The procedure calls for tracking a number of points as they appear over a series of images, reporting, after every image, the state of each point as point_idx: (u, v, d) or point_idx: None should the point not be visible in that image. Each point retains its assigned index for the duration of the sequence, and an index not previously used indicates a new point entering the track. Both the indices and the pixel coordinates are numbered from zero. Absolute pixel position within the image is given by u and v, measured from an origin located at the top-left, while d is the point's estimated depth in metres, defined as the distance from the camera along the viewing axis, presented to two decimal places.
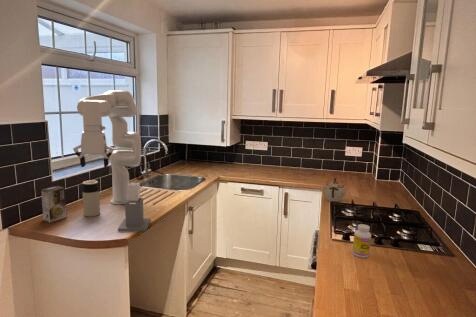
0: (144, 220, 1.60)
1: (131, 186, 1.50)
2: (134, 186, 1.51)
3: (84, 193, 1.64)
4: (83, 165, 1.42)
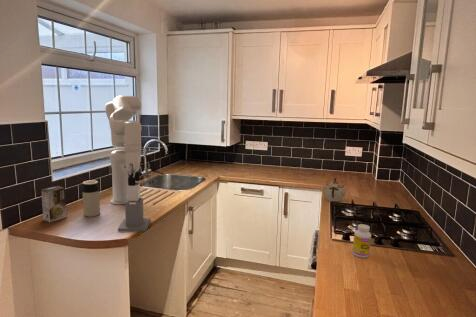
0: (144, 220, 1.60)
1: (131, 186, 1.50)
2: (134, 186, 1.51)
3: (84, 193, 1.64)
4: None
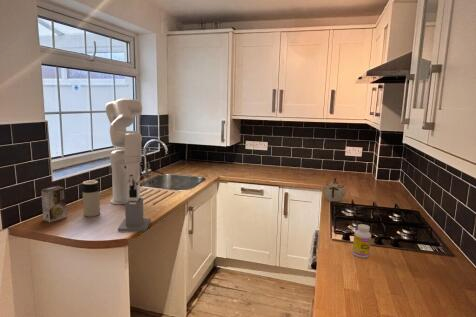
0: (144, 220, 1.60)
1: None
2: None
3: (84, 193, 1.64)
4: None
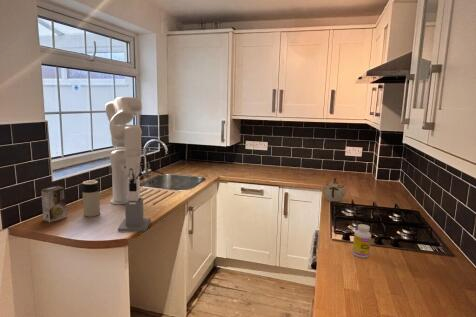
0: (144, 220, 1.60)
1: None
2: None
3: (84, 193, 1.64)
4: None
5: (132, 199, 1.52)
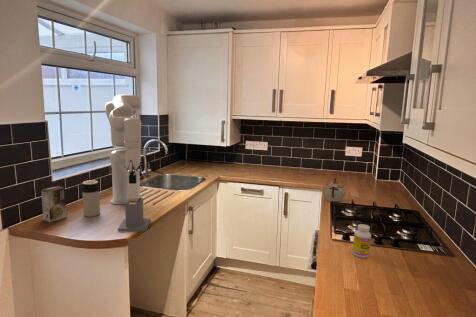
0: (144, 220, 1.60)
1: None
2: None
3: (84, 193, 1.64)
4: None
5: (132, 192, 1.51)
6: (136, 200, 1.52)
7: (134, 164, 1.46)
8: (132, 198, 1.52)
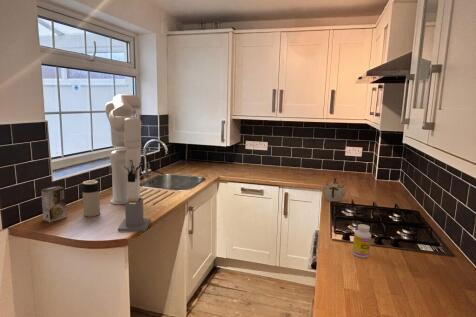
0: (144, 220, 1.60)
1: None
2: (134, 172, 1.49)
3: (84, 193, 1.64)
4: None
5: (132, 191, 1.51)
6: (136, 200, 1.52)
7: (134, 164, 1.46)
8: (132, 198, 1.52)
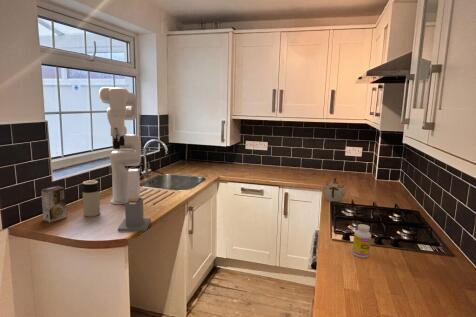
0: (144, 220, 1.60)
1: (131, 171, 1.49)
2: (134, 172, 1.49)
3: (84, 193, 1.64)
4: None
5: (132, 191, 1.51)
6: (136, 200, 1.52)
7: (119, 131, 1.54)
8: (132, 198, 1.52)
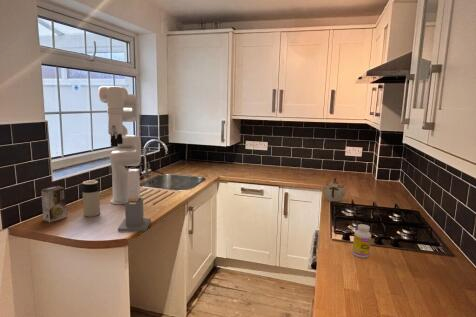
0: (144, 220, 1.60)
1: (131, 171, 1.49)
2: (134, 172, 1.49)
3: (84, 193, 1.64)
4: None
5: (132, 191, 1.51)
6: (136, 200, 1.52)
7: (116, 129, 1.56)
8: (132, 198, 1.52)
